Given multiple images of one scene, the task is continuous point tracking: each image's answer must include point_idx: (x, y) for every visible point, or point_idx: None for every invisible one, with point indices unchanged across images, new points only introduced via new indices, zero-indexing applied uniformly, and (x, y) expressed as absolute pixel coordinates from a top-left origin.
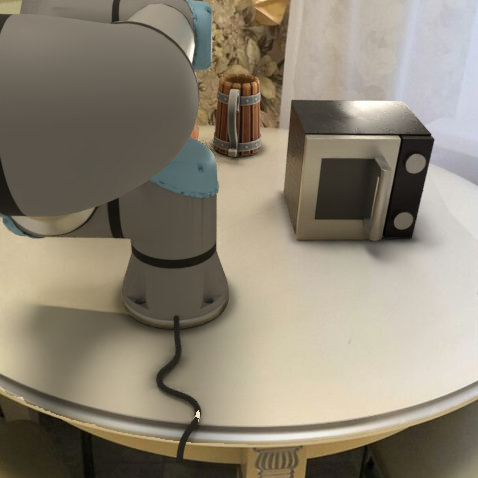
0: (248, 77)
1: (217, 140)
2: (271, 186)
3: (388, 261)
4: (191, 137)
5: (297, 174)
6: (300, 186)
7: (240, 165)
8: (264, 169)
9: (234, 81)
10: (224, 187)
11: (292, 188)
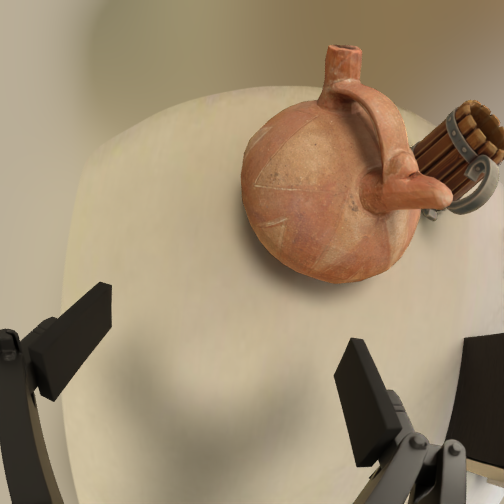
0: (493, 120)
1: None
2: (457, 313)
3: (481, 482)
4: (407, 246)
5: (497, 438)
6: (486, 465)
7: (432, 236)
8: (455, 257)
9: (473, 110)
10: (406, 307)
11: (481, 407)
